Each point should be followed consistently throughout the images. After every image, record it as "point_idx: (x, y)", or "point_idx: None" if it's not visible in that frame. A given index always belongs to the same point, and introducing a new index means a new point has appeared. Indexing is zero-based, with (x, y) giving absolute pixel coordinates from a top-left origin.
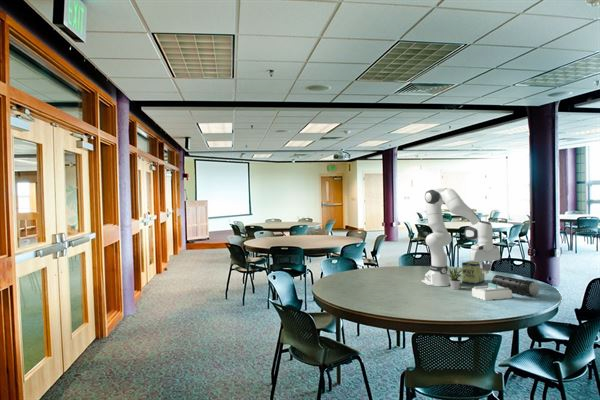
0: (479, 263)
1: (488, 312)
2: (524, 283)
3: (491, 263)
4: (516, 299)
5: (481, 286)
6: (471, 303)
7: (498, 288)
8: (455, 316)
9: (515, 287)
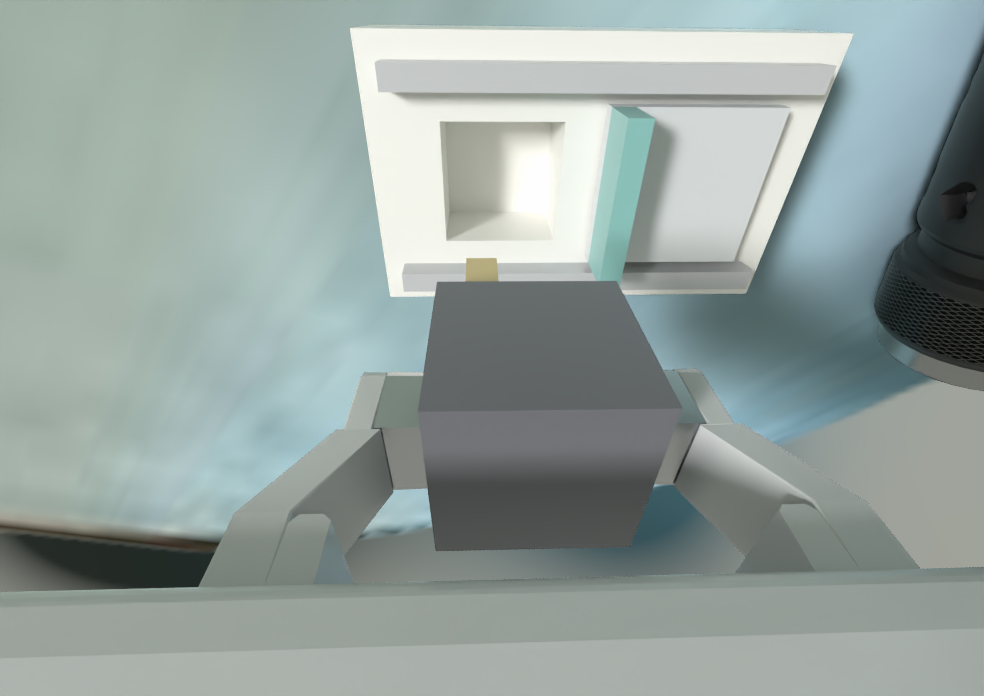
0: (281, 494)
1: (256, 473)
2: (981, 323)
3: (729, 529)
4: (694, 303)
5: (500, 89)
6: (223, 302)
7: (632, 256)
8: (19, 485)
9: (956, 188)
